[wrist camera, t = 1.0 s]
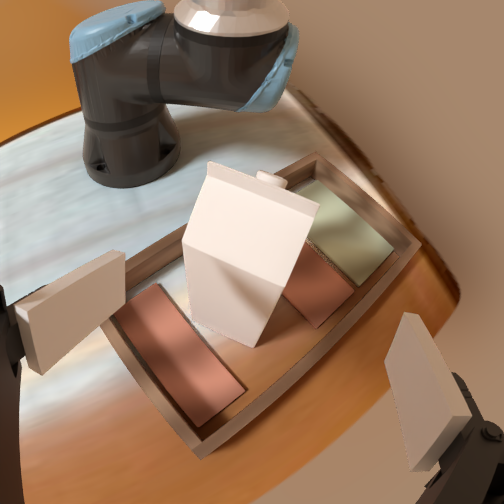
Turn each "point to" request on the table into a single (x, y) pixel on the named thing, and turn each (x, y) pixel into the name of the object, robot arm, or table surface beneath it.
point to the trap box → (296, 292)
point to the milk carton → (242, 249)
